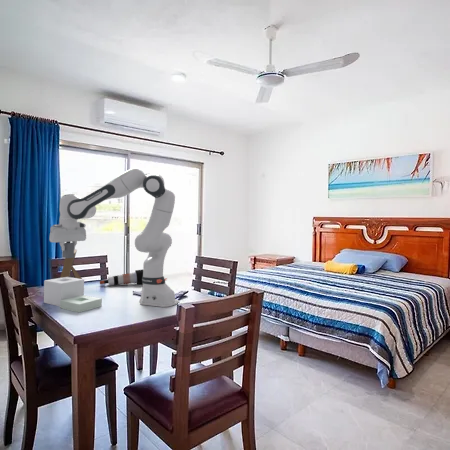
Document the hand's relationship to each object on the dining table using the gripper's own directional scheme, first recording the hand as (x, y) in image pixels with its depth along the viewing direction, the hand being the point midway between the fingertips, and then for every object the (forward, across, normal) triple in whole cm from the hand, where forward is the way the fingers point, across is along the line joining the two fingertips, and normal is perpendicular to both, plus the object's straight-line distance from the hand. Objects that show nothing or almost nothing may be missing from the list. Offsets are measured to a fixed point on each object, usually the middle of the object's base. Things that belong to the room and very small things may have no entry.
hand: (68, 250), depth 182 cm
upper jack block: (+28, 0, +3) cm, 29 cm away
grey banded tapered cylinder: (+29, +53, +9) cm, 61 cm away
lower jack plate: (+29, -2, -13) cm, 32 cm away
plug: (+4, 0, 0) cm, 4 cm away
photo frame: (+28, +23, +27) cm, 46 cm away
